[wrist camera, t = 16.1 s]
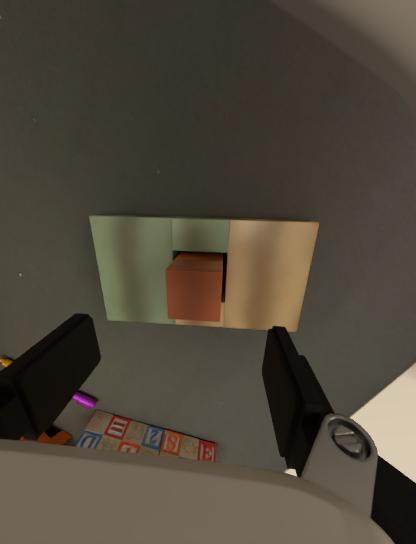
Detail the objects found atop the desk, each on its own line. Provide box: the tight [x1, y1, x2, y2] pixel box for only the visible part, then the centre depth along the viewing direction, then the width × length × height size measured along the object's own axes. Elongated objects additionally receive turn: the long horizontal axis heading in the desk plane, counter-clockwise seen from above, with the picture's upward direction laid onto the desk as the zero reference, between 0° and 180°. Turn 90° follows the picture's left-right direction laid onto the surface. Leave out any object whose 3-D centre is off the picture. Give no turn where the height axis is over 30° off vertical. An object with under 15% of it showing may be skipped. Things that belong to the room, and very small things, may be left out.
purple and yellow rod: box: [0, 358, 96, 409], centre depth 30 cm, size 3×1×16 cm
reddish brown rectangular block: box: [165, 251, 223, 322], centre depth 19 cm, size 5×5×7 cm
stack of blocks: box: [74, 410, 217, 462], centre depth 28 cm, size 21×6×12 cm, turn 74°
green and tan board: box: [89, 214, 319, 332], centre depth 21 cm, size 22×12×2 cm, turn 89°
